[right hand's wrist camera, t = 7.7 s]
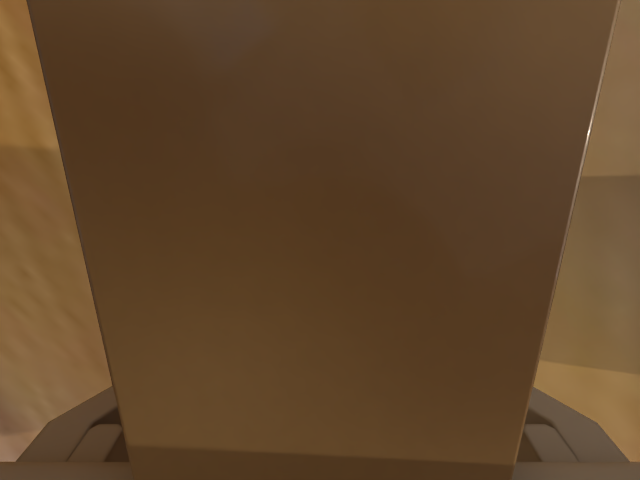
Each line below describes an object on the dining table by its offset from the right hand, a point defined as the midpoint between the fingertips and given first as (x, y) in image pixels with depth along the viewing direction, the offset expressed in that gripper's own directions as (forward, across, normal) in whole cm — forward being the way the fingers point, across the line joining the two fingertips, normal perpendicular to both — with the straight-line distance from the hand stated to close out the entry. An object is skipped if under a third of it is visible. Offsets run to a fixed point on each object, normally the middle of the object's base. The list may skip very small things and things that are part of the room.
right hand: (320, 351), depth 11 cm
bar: (+4, 0, -10) cm, 11 cm away
